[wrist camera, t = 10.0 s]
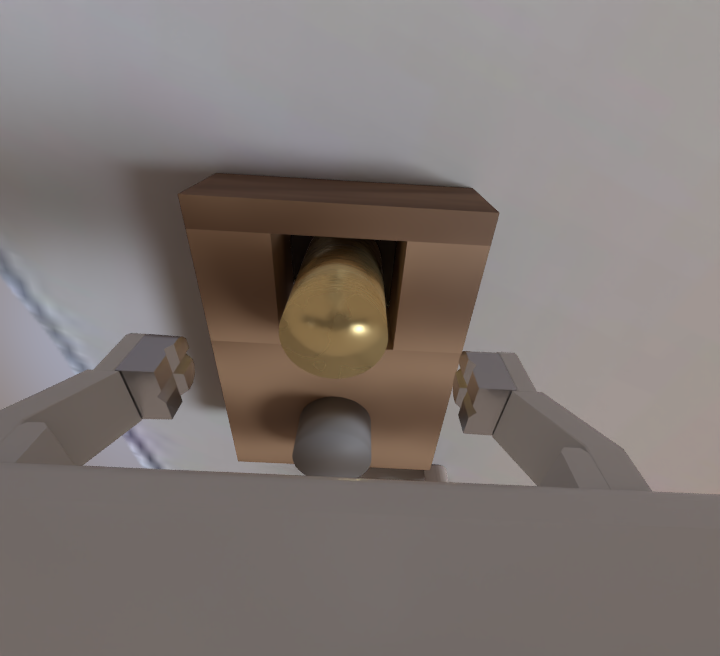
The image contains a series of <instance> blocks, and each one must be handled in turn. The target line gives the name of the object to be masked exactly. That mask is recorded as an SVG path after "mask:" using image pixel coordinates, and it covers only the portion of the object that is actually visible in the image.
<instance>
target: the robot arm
mask: <svg viewBox="0 0 720 656" xmlns="http://www.w3.org/2000/svg"><path fill="white" fill-rule="evenodd" d="M188 349H189V346H188V343H187V340H186V338H184V337H182V336H169V335H156V334H138V333H130V334H127V335H125V336H124V338H123V339H122V340H121V341H120V342H119V343H118V344H117V345H116V346H115V347H114V348H113V349H112V350H111V351H110V353H109V354H108V355H107V356H106V357H105V358H104V359H103V360H102V361H101V362H100V363H99V364H98V365H97V366H96V368H95V369H94V370H86V371H84V372H81V373H79V374H77V375H75V376H73V377H71V378H68V379H66V380H65V381H62V382H60V383H58V384H56V385H53V386H52V387H49V388H47V389H45V390H43V391H41V392H39V393H36V394H34V395H32V396H30V397H28V398H25V399H23V400H21V401H19V402H17V403H15V404H13V405H10V406H8V407H6V408H4V409H2V410H0V656H720V495H719V494H696V493H674V492H652V490H651V489H650V487H649V486H648V484H647V483H646V481H645V480H644V478H643V477H642V475H641V474H640V472H639V471H638V470H637V468H636V467H635V465H634V464H633V462H632V461H631V459H630V458H629V456H628V455H627V453H626V452H625V450H624V449H623V448H621V447H620V446H618V445H617V444H616V443H614V442H613V441H611V440H610V439H608V438H607V437H606V436H604V435H603V434H601V433H600V432H598V431H597V430H596V429H594V428H593V427H591V426H590V425H588V424H587V423H585V422H584V421H583V420H581V419H580V418H578V417H577V416H575V415H574V414H573V413H571V412H570V411H568V410H567V409H565V408H564V407H563V406H561V405H560V404H558V403H557V402H555V401H554V400H553V399H551V398H550V397H548V396H547V395H545V394H544V393H542V392H537V391H536V389H535V387H534V386H533V384H532V382H531V380H530V378H529V376H528V375H527V373H526V371H525V369H524V367H523V365H522V364H521V362H520V360H519V358H518V356H517V355H516V354H515V353H506V352H497V353H492V352H471V351H463V352H462V353H461V355H460V358H459V365H460V368H461V369H459V370H458V371H457V372H455V376H454V380H453V396H454V400H455V403H456V404H457V405H458V406H459V407H460V411H459V414H458V416H459V419H460V423H461V426H462V430H463V433H466V434H480V435H493V438H494V439H495V440H496V441H497V442H498V443H499V445H500V446H501V447H502V448H503V449H504V450H505V451H506V452H507V453H508V454H509V455H510V457H511V458H512V459H513V460H514V461H515V462H516V463H517V464H518V465H519V466H520V467H521V469H522V470H523V471H524V472H525V473H526V474H527V475H528V476H529V477H530V478H531V479H532V481H533V482H534V483H535V484H536V485H537V486H520V485H498V484H476V483H454V482H432V481H410V480H388V479H366V478H343V477H321V476H299V475H277V474H255V473H233V472H211V471H189V470H167V469H145V468H123V467H122V468H121V467H100V466H82V465H84V464H85V463H86V462H88V461H89V460H90V459H92V458H93V457H94V456H96V455H97V454H98V453H99V452H101V451H102V450H103V449H105V448H106V447H107V446H109V445H110V444H111V443H113V442H114V441H115V440H116V439H118V438H119V437H120V436H122V435H123V434H124V433H126V432H127V431H128V430H130V429H131V428H132V427H134V426H135V425H136V424H138V423H139V422H140V421H141V420H142V419H173V417H174V415H175V414H176V412H177V410H178V408H179V407H180V405H181V403H182V399H181V396H180V395H182V394H183V393H185V392H187V391H188V390H189V389H190V387H191V385H192V383H193V379H194V375H195V367H194V362H193V359H192V358H191V357H189V356H188V355H187V354H186V352H187V350H188Z"/></svg>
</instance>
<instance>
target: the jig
mask: <svg viewBox="0 0 720 656" xmlns="http://www.w3.org/2000/svg"><path fill="white" fill-rule="evenodd" d="M178 198H179V202H180V207H181V211H182V215H183V220H184V224H185V229H186V233H187V237H188V242H189V246H190V251H191V255H192V259H193V264H194V268H195V273H196V277H197V282H198V286H199V290H200V295H201V299H202V304H203V308H204V312H205V317H206V321H207V326H208V330H209V335H210V339H211V343H212V348H213V352H214V357H215V361H216V365H217V370H218V374H219V379H220V383H221V388H222V392H223V396H224V401H225V405H226V410H227V414H228V418H229V423H230V427H231V432H232V436H233V440H234V445H235V449H236V454H237V458H238V461H244V462H266V463H287V464H295V466H296V467H297V468H298V470H299V471H301V472H302V473H303V474H305V475H306V476H321V477H343V478H357V477H359V476H361V475H362V474H364V473H365V472H366V471H367V470H368V468H369V467H373V468H395V469H416V470H430V468H431V465H432V461H433V457H434V453H435V450H436V446H437V442H438V439H439V435H440V431H441V428H442V424H443V420H444V416H445V413H446V409H447V405H448V402H449V398H450V394H451V391H452V387H453V380H454V376H455V372H457V368H458V365H459V358H460V355H461V353H462V350H463V346H464V342H465V339H466V335H467V331H468V328H469V324H470V320H471V316H472V313H473V309H474V305H475V302H476V298H477V294H478V291H479V287H480V283H481V279H482V276H483V272H484V268H485V265H486V261H487V257H488V253H489V250H490V246H491V242H492V239H493V235H494V231H495V228H496V224H497V220H498V216H499V212H498V211H497V210H496V209H495V208H494V207H493V206H492V205H490V204H489V203H488V202H487V201H486V200H485V199H484V198H483V197H482V196H481V195H480V194H479V193H477V192H476V191H475V190H474V189H473V188H459V187H442V186H425V185H408V184H391V183H375V182H358V181H341V180H324V179H307V178H290V177H273V176H256V175H239V174H223V173H215V174H213V175H212V176H210V177H208V178H206V179H204V180H203V181H201V182H199V183H197V184H195V185H193V186H192V187H190V188H188V189H186V190H184V191H182V192H181V193H179V194H178ZM291 235H305V236H323V237H340V238H358V239H376V240H393V241H396V249H395V258H394V267H393V275H392V284H391V293H390V302H389V307H386V317H387V328H388V343H387V347H386V350H385V352H384V354H383V356H382V357H381V359H380V360H379V361H378V362H377V363H376V364H375V365H374V366H373V367H372V368H370V369H369V370H367V371H366V372H364V373H361V374H359V375H356V376H353V377H349V378H341V379H331V378H324V377H319V376H316V375H313V374H310V373H308V372H306V371H304V370H302V369H301V368H299V367H298V366H297V365H295V364H294V363H293V362H292V361H291V360H290V359H289V358H288V356H287V355H286V353H285V352H284V350H283V348H282V346H281V343H280V339H279V324H280V321H281V317H282V315H283V312H284V310H285V307H286V304H287V302H288V299H289V296H290V294H291V291H292V288H293V286H294V284H293V267H292V250H291Z"/></svg>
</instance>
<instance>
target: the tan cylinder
mask: <svg viewBox="0 0 720 656" xmlns="http://www.w3.org/2000/svg"><path fill="white" fill-rule="evenodd" d="M279 339H280V343H281V346H282V348H283V350H284V352H285V353H286V355H287V356H288V358H289V359H290V360H291V361H292V362H293V363H294V364H295V365H297V366H298V367H299V368H301V369H302V370H304V371H306V372H308V373H310V374H313V375H316V376H319V377H324V378H331V379H341V378H349V377H353V376H356V375H359V374H361V373H364V372H366V371H367V370H369V369H370V368H372V367H373V366H374V365H375V364H376V363H377V362H378V361H379V360H380V359H381V357H382V356H383V354H384V352H385V350H386V347H387V343H388V328H387V317H386V305H385V294H384V282H383V271H382V259H381V253H380V249H379V247H378V245H377V243H376V241H375V240H374V239H358V238H340V237H323V236H314V237H313V239H312V240H311V242H310V244H309V246H308V249H307V251H306V254H305V257H304V259H303V262H302V264H301V267H300V270H299V272H298V275H297V278H296V280H295V283H294V286H293V288H292V291H291V294H290V296H289V299H288V302H287V304H286V307H285V310H284V312H283V315H282V317H281V321H280V324H279Z"/></svg>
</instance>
